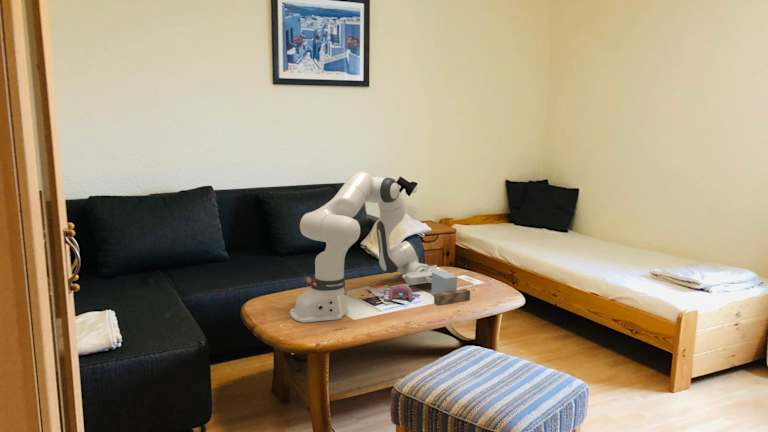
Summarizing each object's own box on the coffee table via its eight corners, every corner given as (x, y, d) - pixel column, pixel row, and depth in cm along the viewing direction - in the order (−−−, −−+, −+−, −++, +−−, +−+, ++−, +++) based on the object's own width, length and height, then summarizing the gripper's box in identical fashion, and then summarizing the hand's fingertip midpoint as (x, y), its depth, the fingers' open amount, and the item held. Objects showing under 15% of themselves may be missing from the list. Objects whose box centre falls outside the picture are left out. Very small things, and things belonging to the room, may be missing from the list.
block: (444, 301, 239) (445, 278, 237) (431, 294, 247) (432, 272, 246) (456, 299, 242) (457, 276, 240) (442, 292, 250) (443, 270, 248)
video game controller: (412, 302, 241) (412, 286, 243) (411, 301, 237) (412, 284, 239) (388, 301, 242) (389, 285, 244) (388, 300, 238) (389, 283, 240)
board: (438, 305, 234) (438, 296, 233) (434, 303, 236) (434, 293, 236) (469, 299, 241) (470, 290, 241) (465, 297, 244) (465, 288, 243)
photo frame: (485, 282, 264) (456, 288, 254) (485, 284, 265) (456, 290, 255) (464, 274, 276) (435, 280, 266) (463, 276, 276) (435, 282, 266)
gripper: (399, 269, 255) (415, 277, 243) (438, 264, 265) (455, 271, 253) (399, 282, 257) (415, 291, 245) (437, 277, 266) (454, 285, 254)
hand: (436, 281), depth 249 cm, fingers closed
